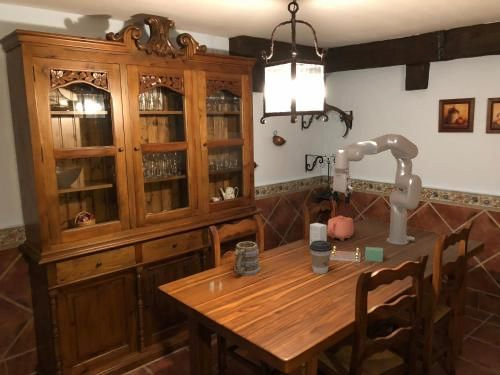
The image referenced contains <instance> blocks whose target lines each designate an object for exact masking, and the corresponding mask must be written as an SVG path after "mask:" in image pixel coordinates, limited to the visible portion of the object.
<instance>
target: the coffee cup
mask: <svg viewBox="0 0 500 375" xmlns="http://www.w3.org/2000/svg"><path fill="white" fill-rule="evenodd" d="M308 249H309V250H310V256H311V257H310V258H311V266H312V271H313V273H314V274H317V275H325V274H327V273H328V271H329V266H330V261H331V260H330V255H331V251H332V250H333V246H332V245H331V243H330V242H329V241H323V240H317V241H313V242H312V243H311V245H310V244H309V248H308Z"/></svg>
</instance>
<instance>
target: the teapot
mask: <svg viewBox="0 0 500 375" xmlns="http://www.w3.org/2000/svg"><path fill="white" fill-rule="evenodd" d="M354 227H355V226H354V219H353V218H352V217H345V216H344V215H338V216H335V217H333V218H329V219H328V221H327V237H329V238H330V239H338V240H339V242H340V241H341V242H344V241H345V239H351V237H352V236H353V235H354V232H355V230H354V229H355V228H354Z"/></svg>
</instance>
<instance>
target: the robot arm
mask: <svg viewBox="0 0 500 375" xmlns="http://www.w3.org/2000/svg"><path fill="white" fill-rule="evenodd" d="M388 150H390V153H391V154H392V156H393V158H394V159H395V161H396V163H397V164H396V173H395V178H394V186H395V187H396V188H397V189H398V188H399V189H401V190H393V191H392V192H391V193H390V194H389V197H388V198H389V205H390V222H389V223H390V224H389V237H387V238H386V242H387V243H389V244H392V245H397V246H398V245H399V246H400V245H401V246H402V245H408V244H409V241H415V237H414V236H412V235H411V236H410V235H409V236H408V235H407V227H408V224H407V223H408V211H407V210H411V211H413V210H415V209H417V207H418V206H419V203H420V198H421V192H422V186H423V184H422V183H423V181H422V179H421V177H420V176H419V175H417V174H413V173H412V171H413V162H412V159H416V157H417V156H418V154H419V148H418V146H417V145H416V144H415V143H413V142H412V141H411V140H410V139H408V138H407V137H405V136H404V135H402V134H393V133H389V134H388V133H386V134H383V135H380V136H378V137H375V138H372V139H370V140H368V139H367V140H364V141H359V142H354V143H351V144H348V145H345V146H343V147H338V148H337V149H335V150H334V151H335V152H334V153H335V154H334V174H333V179H332V181H333V182H332V183H331V184H329V186H330V190H331V193H332V201H333V202H335V201H338V196H339V195H338V193H344V195H345V196H344V204H345V205H347V204H350V203H351V196H352V195H353V192H354V188H353V187H352V180H351V174H350V162H355V163H356V162H360V161H362V160H363V159H364V157H365V156H368V155H369V156H371V155H377V154H380V153H383V152H385V151H388ZM403 190H406V191H403Z"/></svg>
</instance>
